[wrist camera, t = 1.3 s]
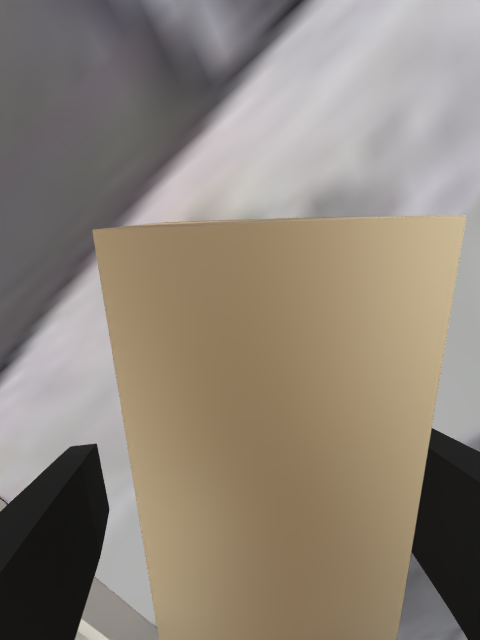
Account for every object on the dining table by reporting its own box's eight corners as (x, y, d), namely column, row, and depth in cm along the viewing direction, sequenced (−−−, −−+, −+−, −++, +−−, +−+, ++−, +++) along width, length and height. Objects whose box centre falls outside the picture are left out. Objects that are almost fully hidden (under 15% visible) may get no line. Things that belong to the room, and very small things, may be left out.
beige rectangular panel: (291, 217, 10) (467, 215, 4) (287, 514, 14) (372, 786, 7) (157, 222, 10) (78, 230, 3) (189, 528, 13) (183, 832, 7)
